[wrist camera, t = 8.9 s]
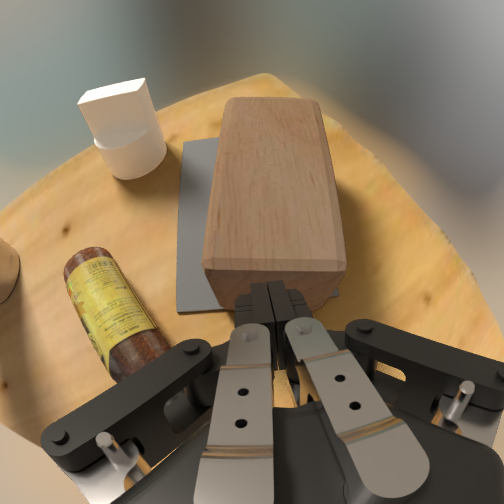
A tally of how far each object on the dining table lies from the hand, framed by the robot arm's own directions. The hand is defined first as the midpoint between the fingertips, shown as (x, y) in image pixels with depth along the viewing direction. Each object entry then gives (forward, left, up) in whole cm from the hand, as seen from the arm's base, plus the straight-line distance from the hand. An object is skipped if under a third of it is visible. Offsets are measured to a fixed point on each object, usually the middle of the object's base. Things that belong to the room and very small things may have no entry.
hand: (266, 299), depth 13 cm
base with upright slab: (-15, +27, -14) cm, 34 cm away
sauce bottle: (-18, +9, -11) cm, 23 cm away
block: (+1, +3, -9) cm, 9 cm away
